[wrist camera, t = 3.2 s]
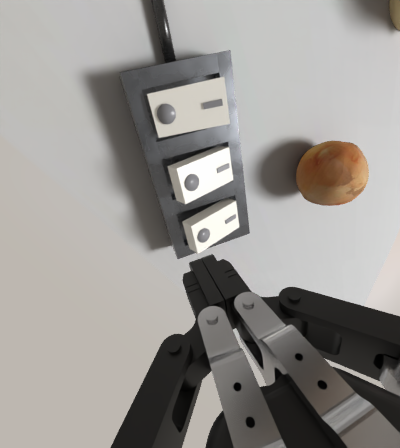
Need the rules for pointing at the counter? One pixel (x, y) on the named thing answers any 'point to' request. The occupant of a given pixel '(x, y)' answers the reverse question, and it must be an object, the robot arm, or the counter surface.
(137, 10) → the counter surface
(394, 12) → the cake
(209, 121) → the rocker
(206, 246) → the rocker
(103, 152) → the counter surface
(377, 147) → the counter surface
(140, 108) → the power strip
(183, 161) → the rocker middle
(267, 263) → the counter surface
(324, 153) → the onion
